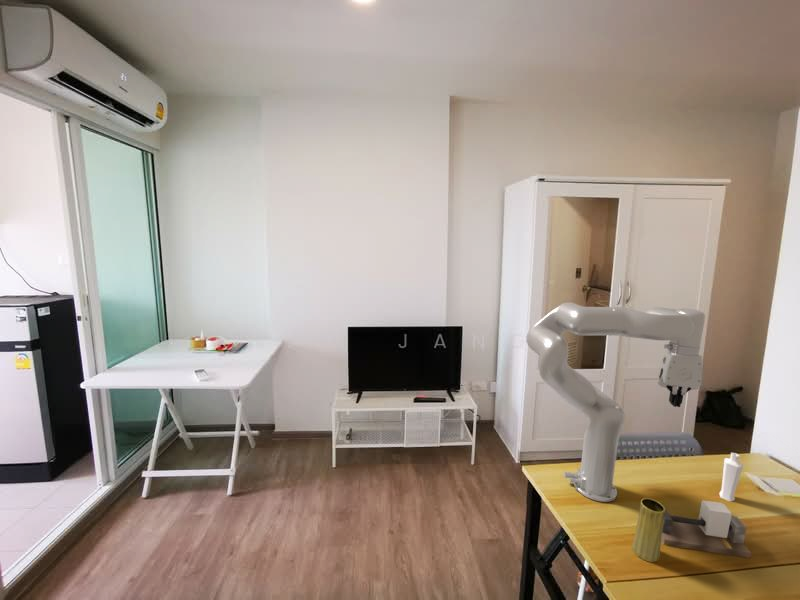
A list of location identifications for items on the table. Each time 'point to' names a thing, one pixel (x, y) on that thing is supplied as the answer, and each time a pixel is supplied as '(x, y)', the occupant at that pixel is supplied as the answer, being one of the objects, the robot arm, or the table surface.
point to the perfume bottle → (730, 477)
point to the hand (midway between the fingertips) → (674, 404)
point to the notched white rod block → (715, 518)
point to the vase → (649, 530)
